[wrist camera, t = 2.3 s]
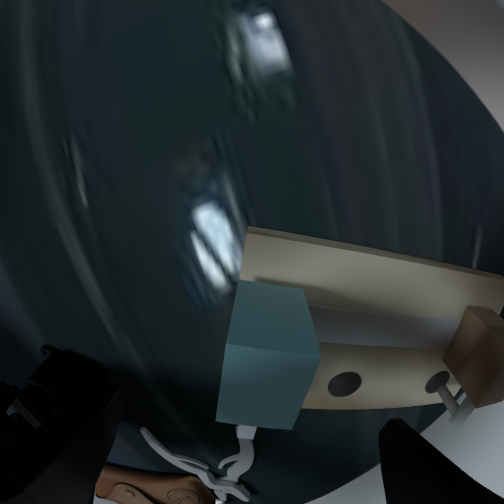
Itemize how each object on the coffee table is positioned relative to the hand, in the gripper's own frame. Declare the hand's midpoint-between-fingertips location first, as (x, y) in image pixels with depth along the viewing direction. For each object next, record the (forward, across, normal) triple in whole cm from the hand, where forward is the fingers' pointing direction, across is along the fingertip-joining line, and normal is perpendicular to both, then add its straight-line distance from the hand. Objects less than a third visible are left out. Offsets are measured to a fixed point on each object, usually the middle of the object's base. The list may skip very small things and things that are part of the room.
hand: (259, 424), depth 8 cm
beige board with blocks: (+9, -8, +1) cm, 12 cm away
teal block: (+6, 0, +1) cm, 6 cm away
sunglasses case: (+9, +10, +29) cm, 32 cm away
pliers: (+9, +1, +20) cm, 22 cm away
